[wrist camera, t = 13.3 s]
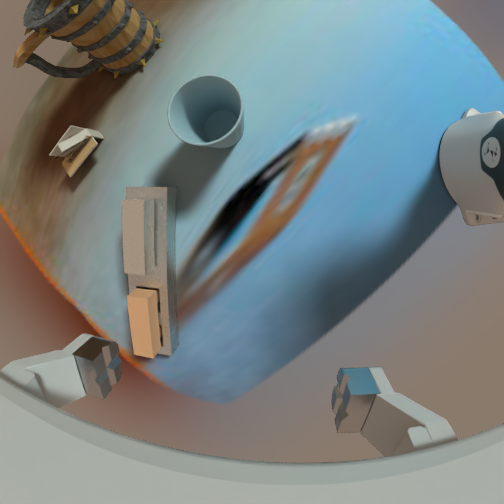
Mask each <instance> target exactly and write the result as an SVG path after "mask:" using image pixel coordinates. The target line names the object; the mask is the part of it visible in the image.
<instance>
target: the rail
mask: <svg viewBox="0 0 504 504" xmlns="http://www.w3.org/2000/svg"><path fill="white" fill-rule="evenodd" d="M176 189H177V187H126V200H122V234H123V259H124V273H127V274H128V283H129V294H130V293H131V292H132V291H134V290H135V289H136V288H139V289H147V287H149V288H157V289H159V294H160V302H159V303H158V304H157V309H158V322H159V325H161V326H162V336H161V338H160V343H161V349H160V350H159V351H158V354H163V355H169V356H172V355H173V353H174V352H175V350H176V348H177V347H178V345H179V339H178V322H177V300H176V257H175V232H176Z"/></svg>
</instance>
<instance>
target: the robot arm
mask: <svg viewBox="0 0 504 504" xmlns="http://www.w3.org/2000/svg"><path fill="white" fill-rule="evenodd" d="M440 168H441V173H442V177H443V180H444V183H445V185H446V188H447V190H448V192H449V193H450V195H451V197H452V198H453V199H454V200H455V202H456V203H457V204H458V206H459V207H460V209H461V212H462V215H463V218H464V221H465V222H466V224H467V225H481V224H491V223H499V222H504V115H503V114H502V113H501V112H499V111H494V112H487V113H479V112H478V111H477V110H475V109H473V108H471V109H467V110H466V111H465V113H464V115H463V117H462V118H461V119H460V120H459V121H457V122H455V123H453V124H452V125H450V126H449V127H448V129H447V130H446V131H445V133H444V135H443V138H442V141H441V145H440ZM475 217H476V218H475ZM118 353H119V348H118V344H117V343H116V342H115V341H111V340H107V339H104V338H100V337H96V336H93V335H89V334H82V335H80V336H79V337H78V338H77V339H75V340H74V341H73V342H72V343H70V344H69V345H68V346H67V347H66V348H64V349H63V350H62V351H60V350H57V351H53V352H49V353H45V354H41V355H36V356H32V357H28V358H24V359H20V360H15V361H12V362H11V363H9V364H8V365H7V366H6V367H4V368H3V369H1V370H0V504H504V423H503V424H501V425H499V426H496V427H494V428H491V429H488V430H486V431H483V432H480V433H478V434H475V435H472V436H469V437H466V438H463V439H460V440H458V439H457V437H456V435H455V434H454V432H453V430H452V428H451V427H450V425H449V423H448V422H447V420H446V419H444V418H442V417H440V416H438V415H437V414H435V413H433V412H431V411H430V410H428V409H426V408H424V407H422V406H421V405H419V404H417V403H415V402H414V401H412V400H410V399H409V398H407V397H405V396H403V395H402V394H400V393H394V391H393V389H392V387H391V385H390V383H389V381H388V379H387V377H386V375H385V374H384V372H383V370H382V368H381V367H367V368H340V370H339V372H338V375H337V380H338V384H337V385H336V386H335V387H334V390H333V394H332V409H333V412H334V413H335V414H336V418H335V424H336V429H337V433H356V432H361V434H362V435H363V436H364V437H365V438H366V439H367V440H368V441H369V442H370V443H371V444H372V445H373V446H374V447H375V448H376V449H377V450H378V451H379V452H380V453H381V454H382V455H384V456H385V457H380V458H372V459H363V460H354V461H342V462H323V463H283V462H281V463H280V462H263V461H251V460H240V459H232V458H225V457H218V456H211V455H205V454H200V453H194V452H189V451H184V450H179V449H174V448H170V447H166V446H162V445H158V444H154V443H151V442H147V441H144V440H140V439H137V438H133V437H130V436H127V435H124V434H121V433H118V432H115V431H112V430H109V429H106V428H104V427H101V426H98V425H96V424H93V423H91V422H88V421H86V420H83V419H81V418H79V417H76V416H74V415H72V414H69V413H67V412H65V411H63V410H61V409H59V408H61V407H63V406H65V405H67V404H69V403H71V402H73V401H75V400H77V399H79V398H81V397H83V396H85V395H86V394H87V395H90V396H93V397H96V398H99V399H103V400H104V399H105V397H107V395H108V394H109V392H110V391H111V385H114V384H116V383H117V382H118V381H119V380H120V377H121V374H122V363H121V361H120V359H119V358H118V356H117V355H118Z"/></svg>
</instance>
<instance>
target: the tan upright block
mask: <svg viewBox="0 0 504 504" xmlns="http://www.w3.org/2000/svg"><path fill="white" fill-rule="evenodd" d="M159 302H160V294H159V289H157V288H148V289H139V288H136V289H135V290H134V291H132V292H131V293H130V294H128V295H127V303H128V312H129V321H130V328H131V336H132V343H133V349H134V355H138V356H143V357H148V358H153V359H154V357H155V356H156V354H157V353H158V351H159V350H160V349H161V343H160V338H161V336H162V326H161V325H159V322H158V309H157V304H158V303H159Z"/></svg>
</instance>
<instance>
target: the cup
mask: <svg viewBox="0 0 504 504" xmlns="http://www.w3.org/2000/svg"><path fill="white" fill-rule="evenodd" d="M167 115H168V122H169V125H170V128H171V129H172V131H173V133H174V134H175V135H176V136H177V137H178V138H179V139H181V140H182V141H184V142H186V143H188V144H191V145H197V146H205V147H212V148H220V149H222V148H229V147H231V146H233V145H234V144H236V143H237V142H238V141H239V140H240V138H241V137H242V135H243V130H244V105H243V98H242V95H241V93H240V91H239V89H238V88H237V86H236V85H235V84H234V83H233V82H231V81H230V80H229V79H227V78H225V77H222V76H219V75H213V74H206V75H200V76H196V77H194V78H191V79H189V80H188V81H186V82H184V83H183V84H182V85H181V86H180V87H179V88H178V89H177V90H176V91H175V93H174V94H173V96H172V98H171V100H170V102H169V105H168V112H167Z"/></svg>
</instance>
